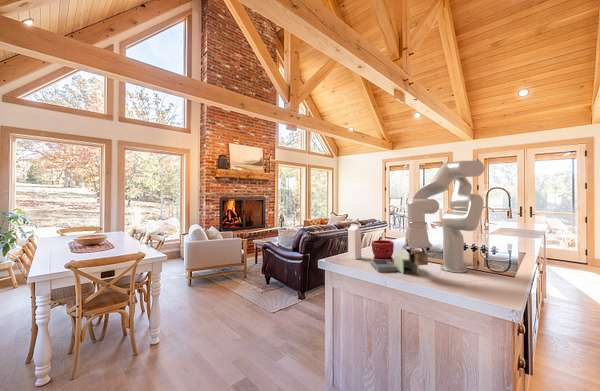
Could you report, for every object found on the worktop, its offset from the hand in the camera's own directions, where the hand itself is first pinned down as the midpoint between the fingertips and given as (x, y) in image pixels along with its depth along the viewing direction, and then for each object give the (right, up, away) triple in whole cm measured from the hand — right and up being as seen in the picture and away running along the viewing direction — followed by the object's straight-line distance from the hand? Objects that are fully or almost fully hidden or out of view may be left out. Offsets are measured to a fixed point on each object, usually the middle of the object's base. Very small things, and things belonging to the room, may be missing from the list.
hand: (418, 260), depth 130 cm
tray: (-12, -8, +17) cm, 23 cm away
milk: (-23, -8, +40) cm, 47 cm away
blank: (0, -1, 0) cm, 1 cm away
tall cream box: (-1, -8, +12) cm, 15 cm away
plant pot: (-7, -8, +33) cm, 35 cm away
